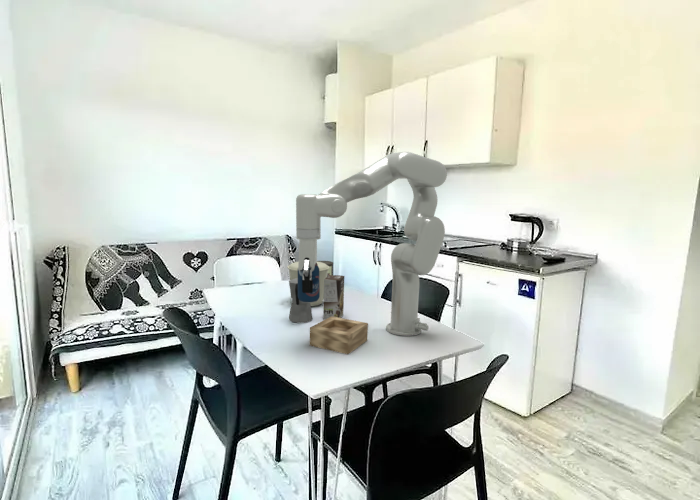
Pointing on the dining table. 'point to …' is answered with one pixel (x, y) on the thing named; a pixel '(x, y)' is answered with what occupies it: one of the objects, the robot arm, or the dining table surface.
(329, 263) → the coffee can
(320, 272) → the canister
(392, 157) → the robot arm
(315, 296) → the soda can
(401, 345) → the dining table surface
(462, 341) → the dining table surface
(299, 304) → the coffeepot
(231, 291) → the dining table surface
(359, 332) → the square wooden tray
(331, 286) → the coffee box
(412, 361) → the dining table surface
